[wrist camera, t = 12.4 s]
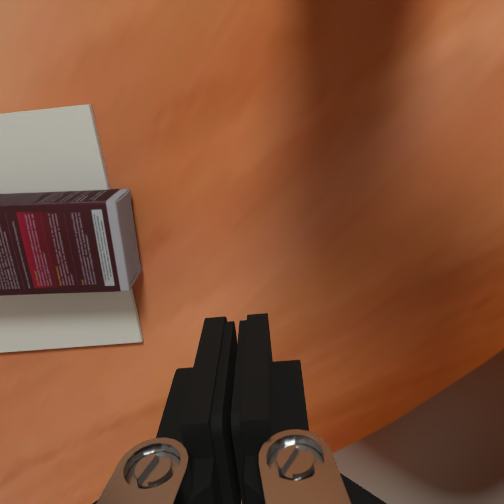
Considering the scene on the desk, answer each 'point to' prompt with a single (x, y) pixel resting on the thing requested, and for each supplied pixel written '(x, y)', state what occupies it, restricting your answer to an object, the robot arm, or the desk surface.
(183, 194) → the desk surface
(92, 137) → the mat
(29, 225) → the supplement box
